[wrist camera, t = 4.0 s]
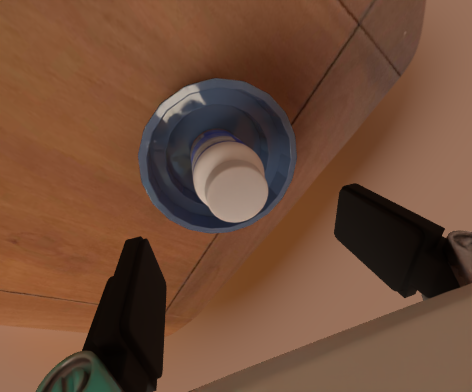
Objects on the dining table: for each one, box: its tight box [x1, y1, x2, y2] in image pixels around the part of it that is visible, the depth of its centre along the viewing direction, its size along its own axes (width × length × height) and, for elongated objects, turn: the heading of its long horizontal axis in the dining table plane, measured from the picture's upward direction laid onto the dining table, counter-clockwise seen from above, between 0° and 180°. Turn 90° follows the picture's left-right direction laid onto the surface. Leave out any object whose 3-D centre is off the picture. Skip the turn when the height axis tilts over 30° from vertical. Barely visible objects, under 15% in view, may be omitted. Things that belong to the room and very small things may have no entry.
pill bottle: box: [190, 129, 268, 223], centre depth 17 cm, size 5×5×10 cm
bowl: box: [138, 78, 297, 234], centre depth 19 cm, size 13×13×5 cm
